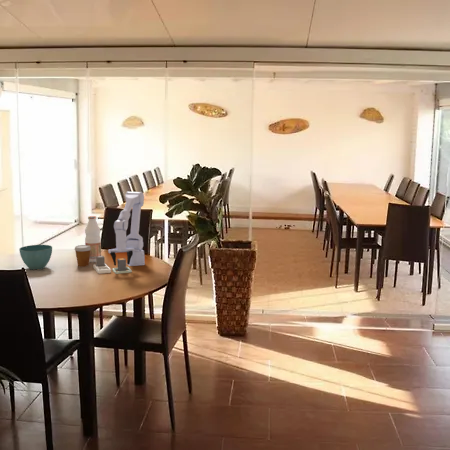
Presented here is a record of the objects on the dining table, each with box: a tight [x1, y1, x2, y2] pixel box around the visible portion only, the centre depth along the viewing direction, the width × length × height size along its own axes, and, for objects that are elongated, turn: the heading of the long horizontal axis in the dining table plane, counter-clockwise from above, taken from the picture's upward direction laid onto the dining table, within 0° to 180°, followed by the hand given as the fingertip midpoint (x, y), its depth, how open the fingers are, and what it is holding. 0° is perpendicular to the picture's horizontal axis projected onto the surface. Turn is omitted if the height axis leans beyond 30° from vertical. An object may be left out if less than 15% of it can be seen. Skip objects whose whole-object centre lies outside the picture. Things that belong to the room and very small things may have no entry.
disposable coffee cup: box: [74, 244, 91, 268], centre depth 336 cm, size 10×10×12 cm
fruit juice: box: [84, 215, 102, 263], centre depth 348 cm, size 9×9×28 cm
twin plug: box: [95, 255, 106, 267], centre depth 328 cm, size 4×4×7 cm
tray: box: [111, 266, 133, 275], centre depth 323 cm, size 9×9×2 cm
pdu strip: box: [92, 262, 112, 275], centre depth 325 cm, size 7×16×2 cm, turn 23°
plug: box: [116, 257, 127, 271], centre depth 322 cm, size 4×4×7 cm
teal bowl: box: [19, 244, 53, 270], centre depth 330 cm, size 18×18×12 cm
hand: (121, 264), depth 322 cm, fingers open, 7 cm apart
